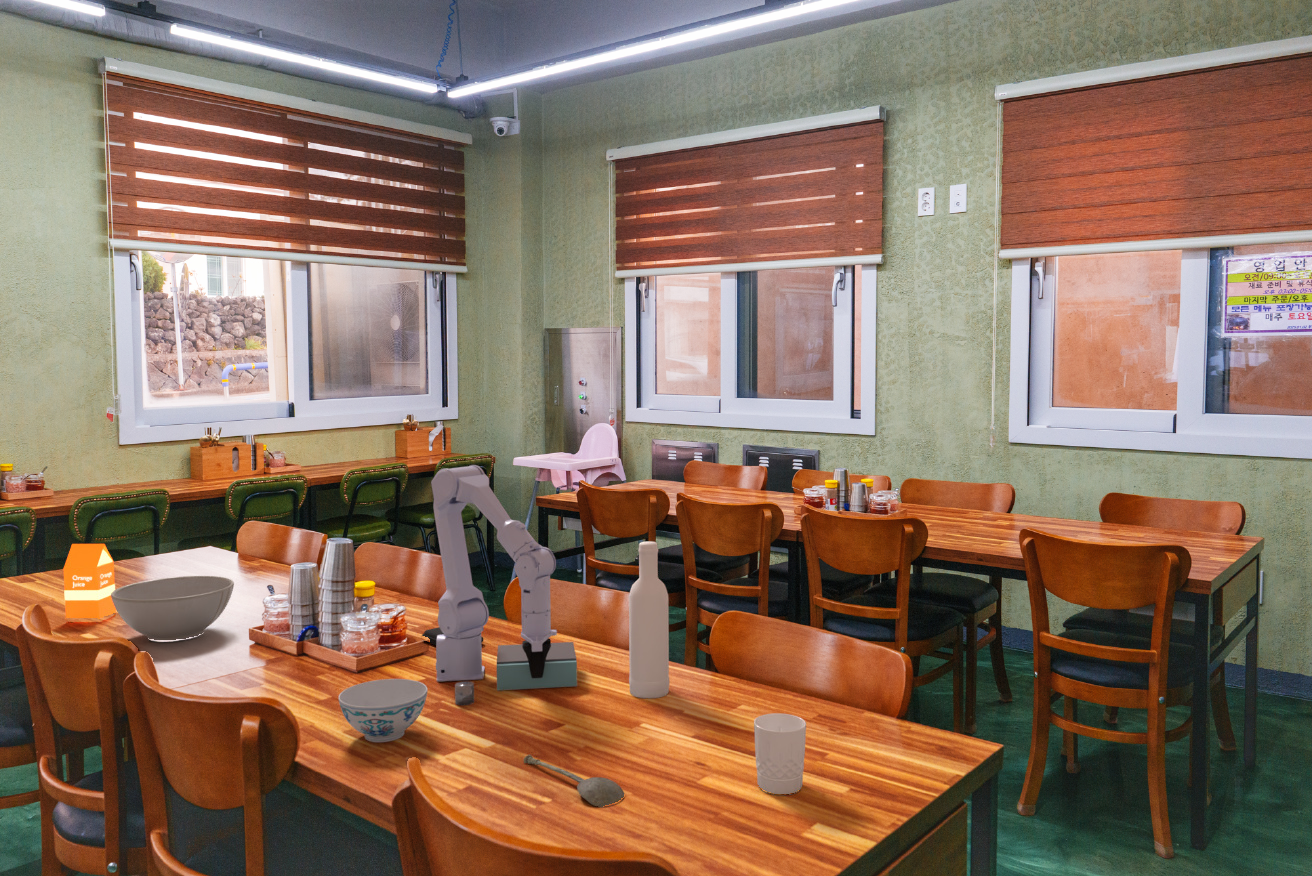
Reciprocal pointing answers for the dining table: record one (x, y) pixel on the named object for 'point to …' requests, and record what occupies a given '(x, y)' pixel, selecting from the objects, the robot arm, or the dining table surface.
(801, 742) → the white cup
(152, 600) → the decorative bowl
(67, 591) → the orange juice
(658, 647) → the bottle
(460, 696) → the grey metallic cube
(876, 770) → the dining table surface
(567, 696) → the dining table surface
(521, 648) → the grey drawer housing
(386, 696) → the chinaware
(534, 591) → the robot arm
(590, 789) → the soupspoon
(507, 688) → the teal drawer
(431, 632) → the carrying case or bag
